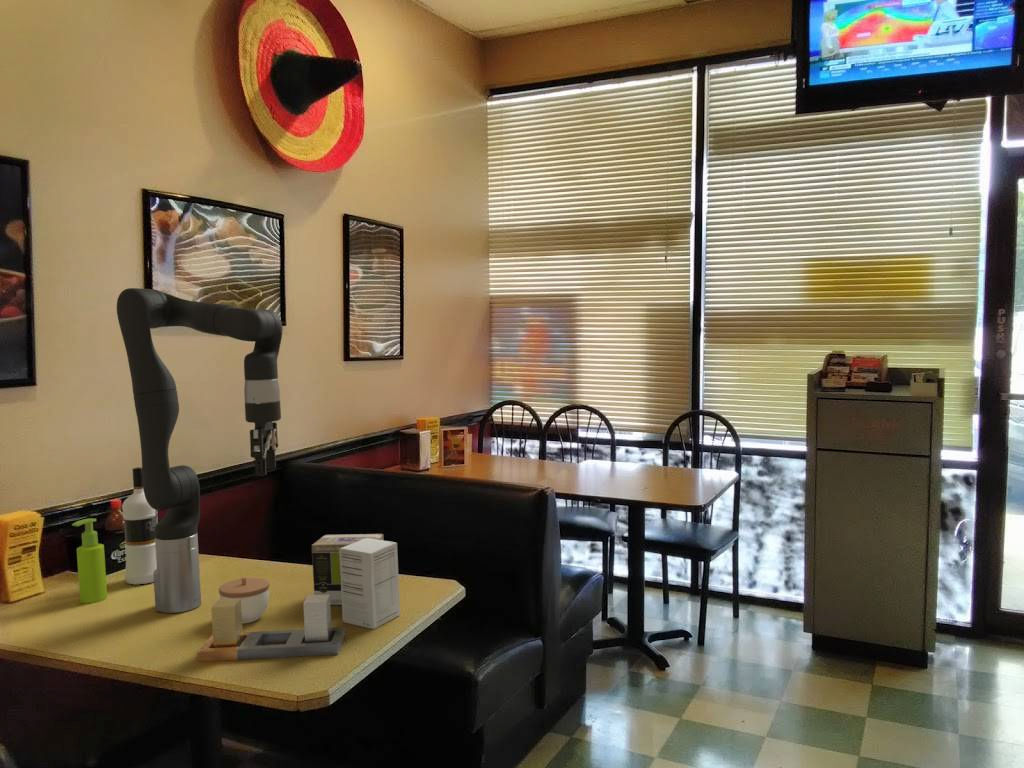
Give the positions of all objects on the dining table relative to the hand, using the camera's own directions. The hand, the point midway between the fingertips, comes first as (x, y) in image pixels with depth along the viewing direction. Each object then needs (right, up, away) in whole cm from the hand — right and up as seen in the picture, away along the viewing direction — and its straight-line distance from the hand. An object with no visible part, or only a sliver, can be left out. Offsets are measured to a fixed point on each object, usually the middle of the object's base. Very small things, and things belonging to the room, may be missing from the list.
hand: (266, 472), depth 172 cm
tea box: (+16, -32, +13) cm, 38 cm away
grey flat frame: (+7, -34, -15) cm, 38 cm away
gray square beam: (+16, -34, -15) cm, 40 cm away
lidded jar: (-5, -33, +2) cm, 34 cm away
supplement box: (+24, -33, 0) cm, 40 cm away
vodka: (-42, -32, +32) cm, 62 cm away
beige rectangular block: (-2, -34, -16) cm, 38 cm away
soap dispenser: (-48, -34, +17) cm, 61 cm away
